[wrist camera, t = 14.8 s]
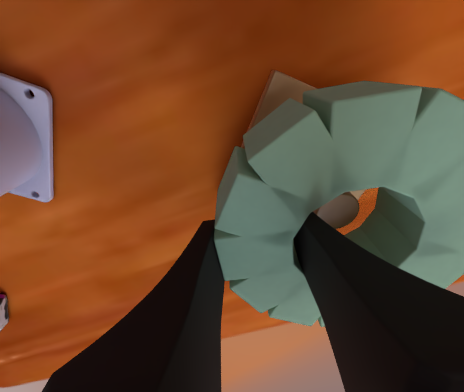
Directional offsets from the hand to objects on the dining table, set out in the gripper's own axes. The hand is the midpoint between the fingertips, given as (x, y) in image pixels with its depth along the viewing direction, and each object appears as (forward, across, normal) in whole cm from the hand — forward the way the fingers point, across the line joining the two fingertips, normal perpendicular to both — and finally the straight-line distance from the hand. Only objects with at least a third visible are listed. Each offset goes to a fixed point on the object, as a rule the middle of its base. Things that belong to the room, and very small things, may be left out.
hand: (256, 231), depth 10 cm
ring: (+1, -4, 0) cm, 4 cm away
